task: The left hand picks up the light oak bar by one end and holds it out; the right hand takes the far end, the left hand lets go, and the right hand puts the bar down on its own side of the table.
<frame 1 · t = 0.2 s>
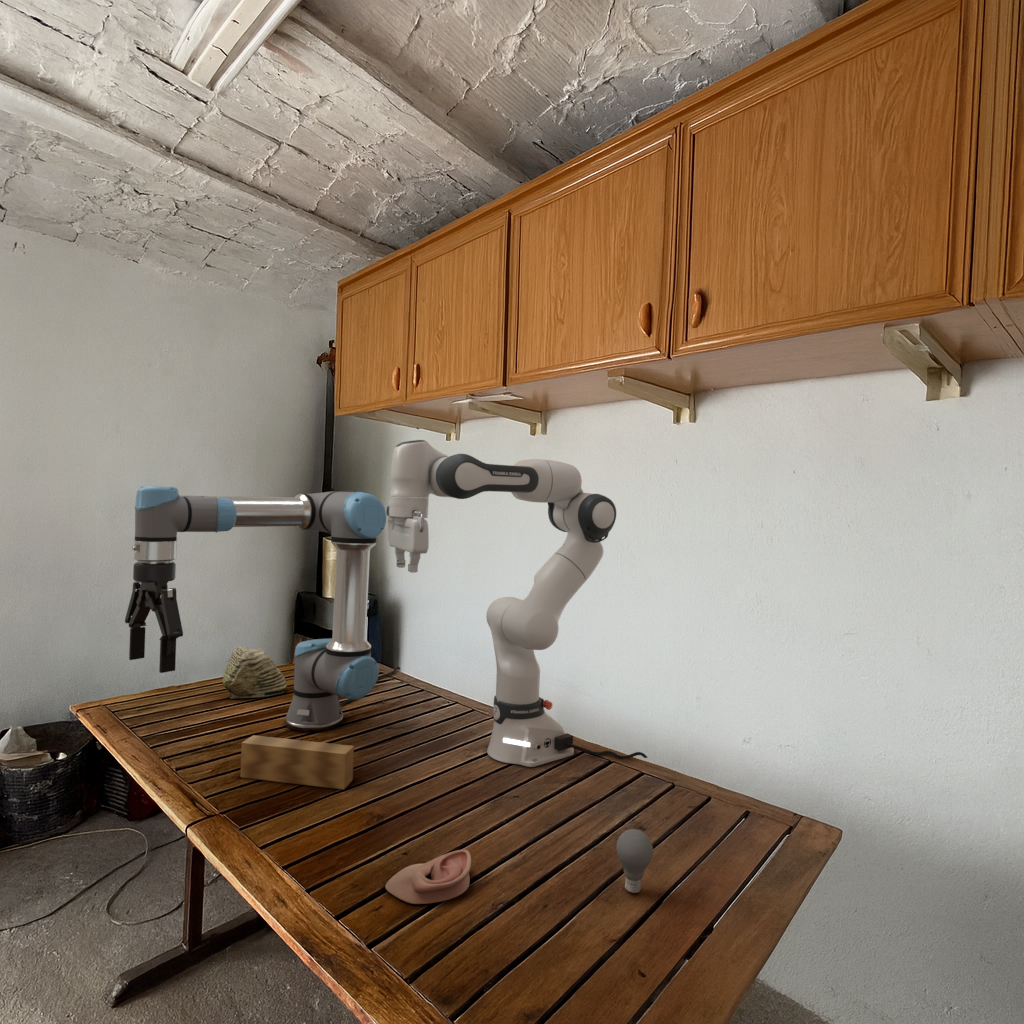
left hand: (151, 665, 130), 27 cm above the table, tool pointing down, fingers open, 13 cm apart
right hand: (406, 569, 146), 47 cm above the table, tool pointing down, fingers open, 8 cm apart
anatomical model: (428, 885, 105), on the table
bar: (296, 778, 142), on the table
light bulb: (632, 891, 106), on the table
fossil: (254, 694, 198), on the table
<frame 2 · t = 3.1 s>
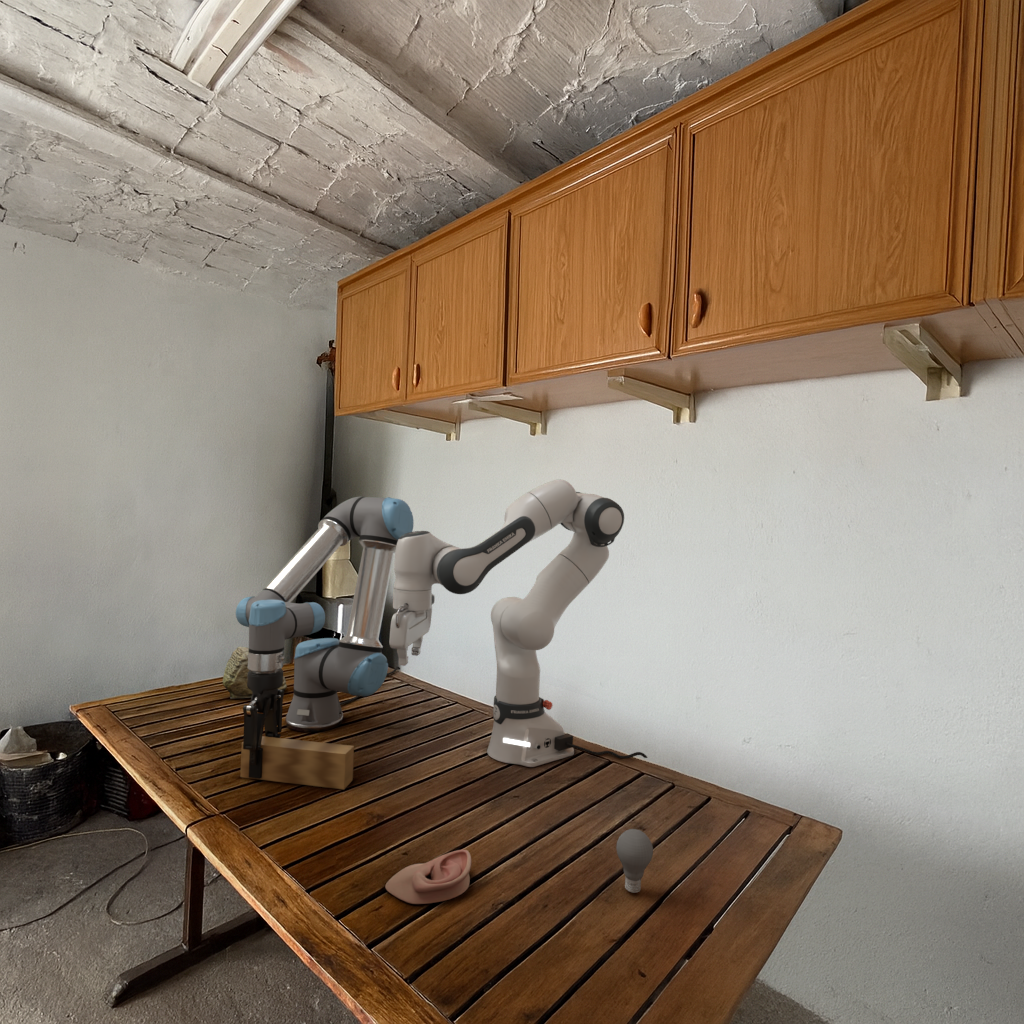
left hand: (261, 772, 143), 1 cm above the table, tool pointing down, fingers closed on bar, 5 cm apart
right hand: (409, 659, 148), 26 cm above the table, tool pointing down, fingers open, 8 cm apart
bar: (296, 778, 142), on the table, touching left hand
everything else where it was.
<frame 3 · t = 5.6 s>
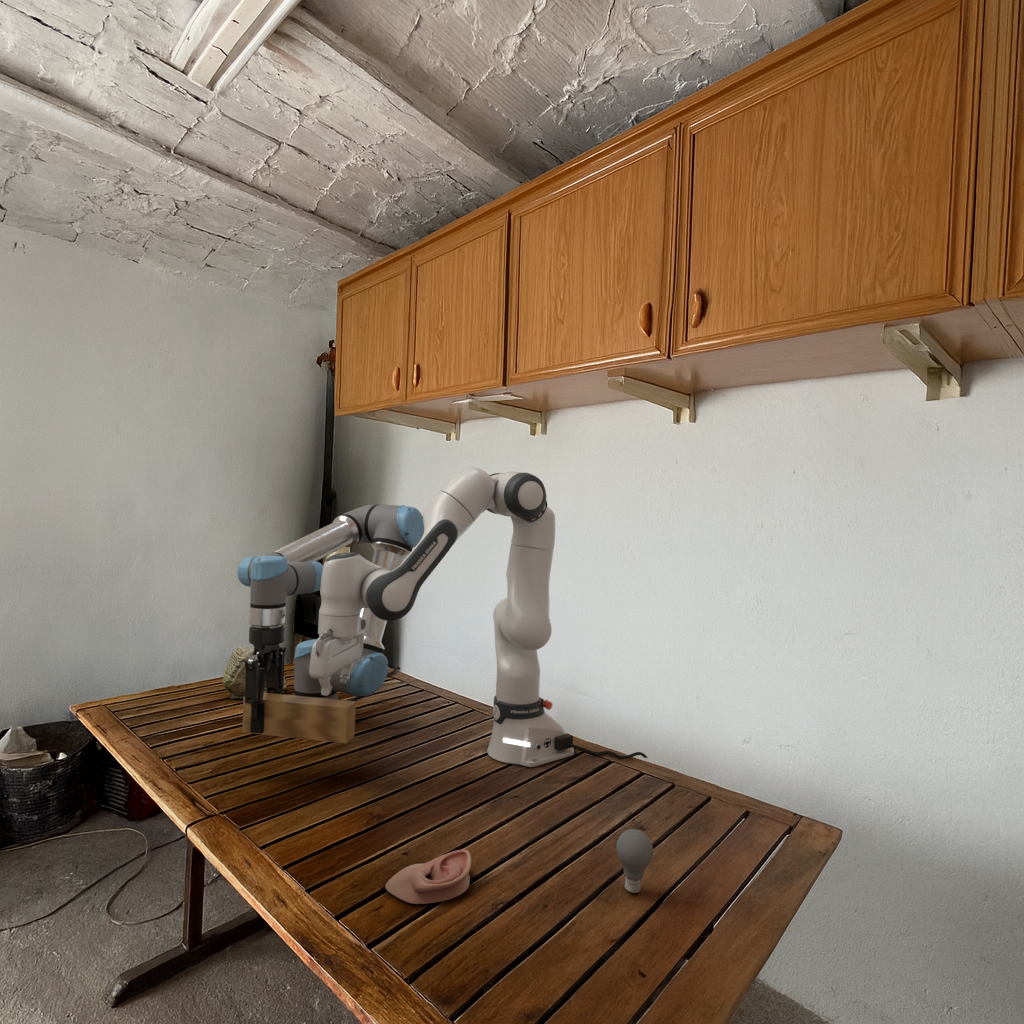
left hand: (263, 727, 143), 11 cm above the table, tool pointing down, fingers closed on bar, 5 cm apart
right hand: (335, 688, 140), 21 cm above the table, tool pointing down, fingers open, 8 cm apart
bar: (298, 734, 142), point 10 cm above the table, touching left hand
everything else where it was.
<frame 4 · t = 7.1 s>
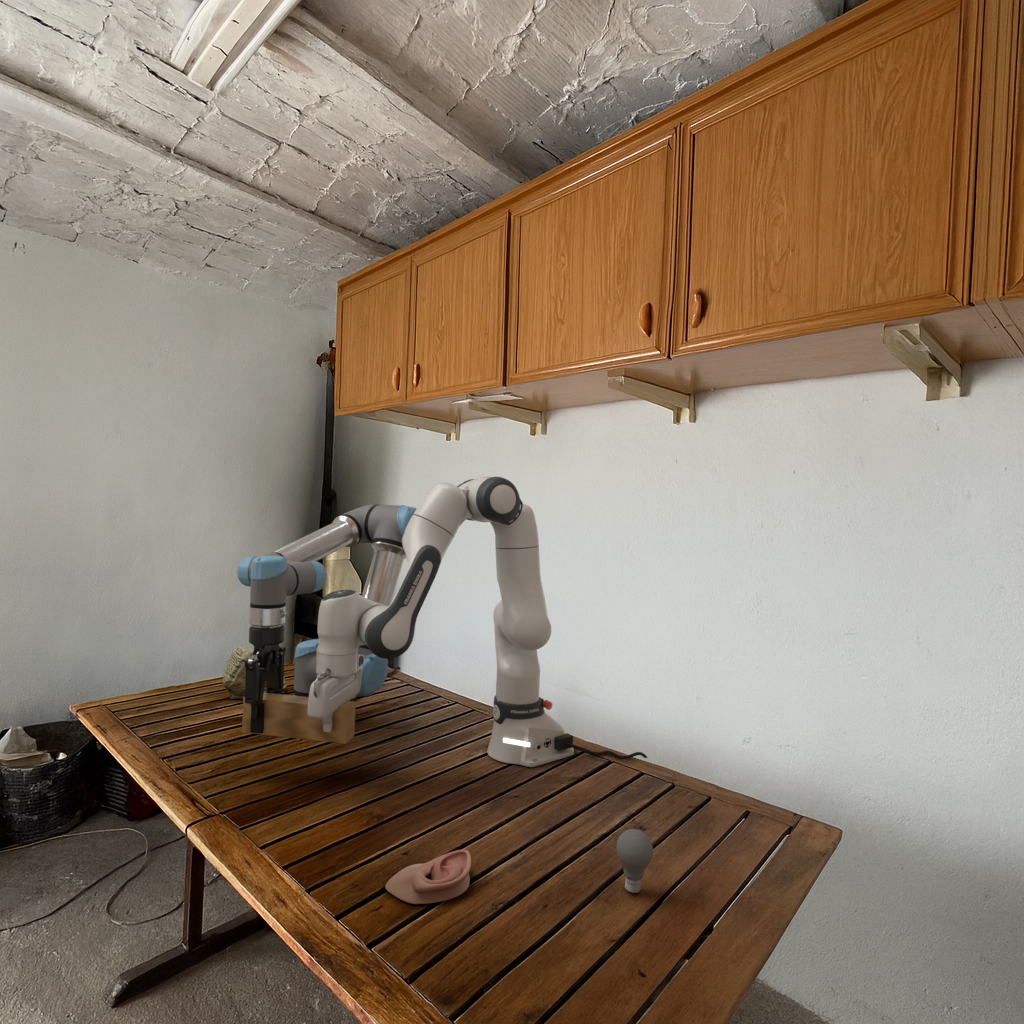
left hand: (263, 727, 143), 11 cm above the table, tool pointing down, fingers closed on bar, 5 cm apart
right hand: (334, 726, 140), 13 cm above the table, tool pointing down, fingers closed on bar, 5 cm apart
bar: (298, 734, 141), point 10 cm above the table, touching left hand, right hand
everything else where it was.
when the left hand's fingers open (11 cm above the table, at t = 7.9 s): bar stays where it is, held by the right hand.
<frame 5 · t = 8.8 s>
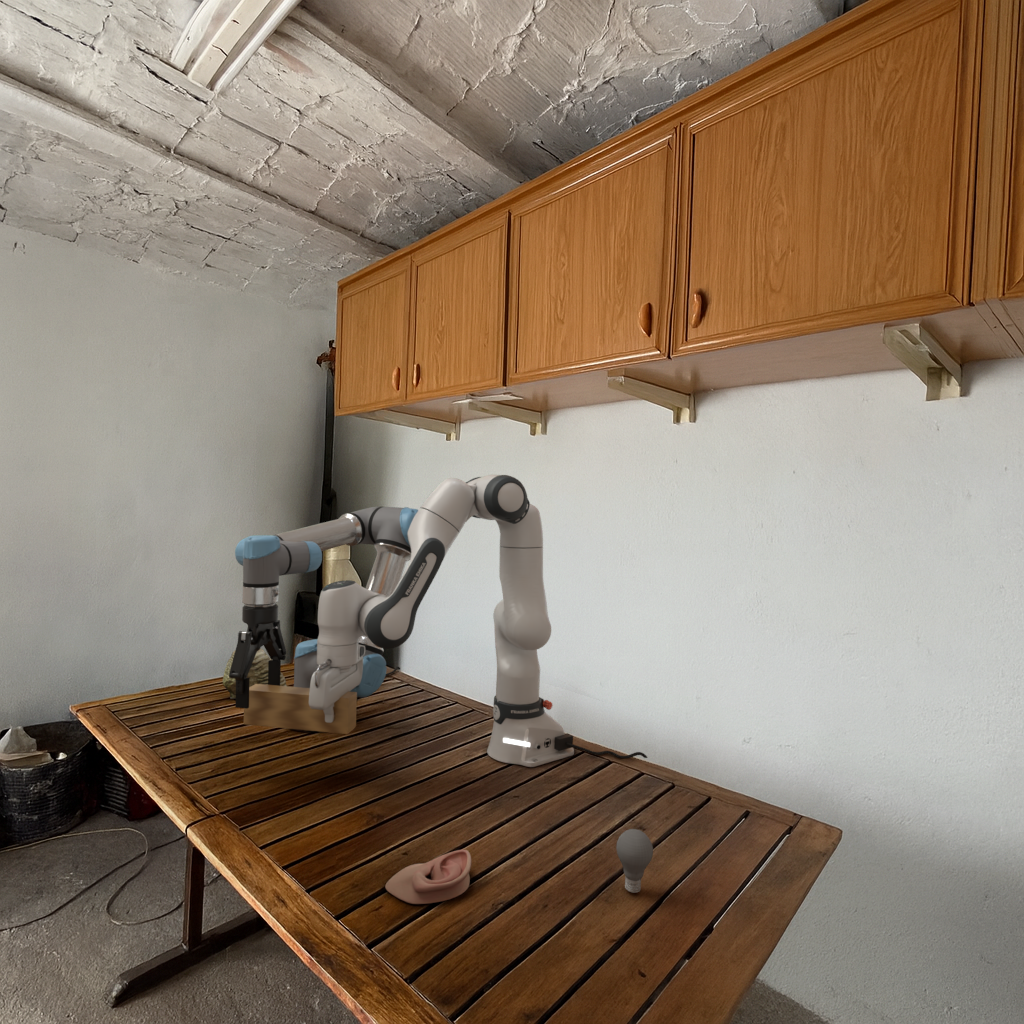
left hand: (258, 697, 143), 17 cm above the table, tool pointing down, fingers open, 13 cm apart
right hand: (336, 716, 140), 15 cm above the table, tool pointing down, fingers closed on bar, 5 cm apart
bar: (299, 725, 141), point 12 cm above the table, touching right hand
everything else where it was.
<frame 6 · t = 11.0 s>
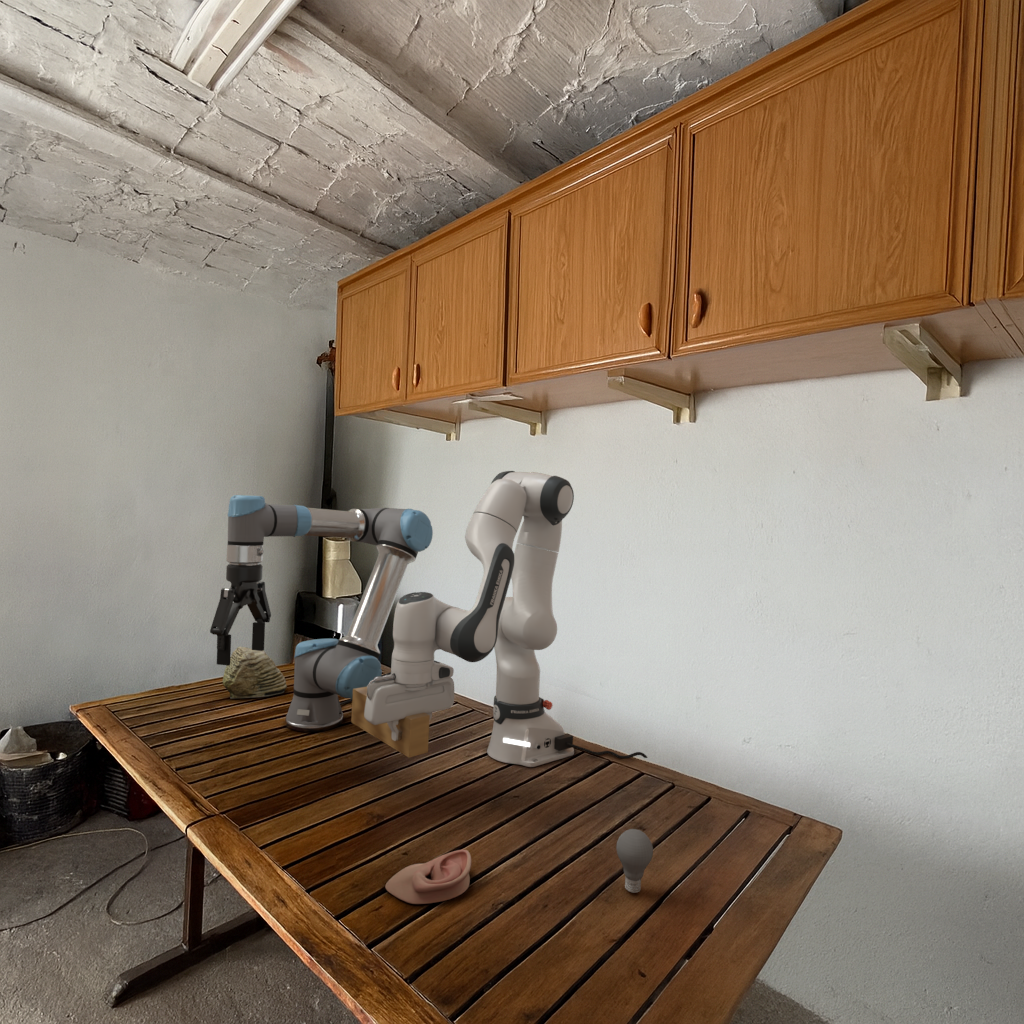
left hand: (241, 657, 143), 26 cm above the table, tool pointing down, fingers open, 13 cm apart
right hand: (409, 736, 133), 14 cm above the table, tool pointing down, fingers closed on bar, 5 cm apart
bar: (387, 736, 139), point 11 cm above the table, touching right hand
everything else where it was.
when the right hand's fingers open (4 cm above the table, at t = 12.7 s): bar drops 1 cm, on the table.
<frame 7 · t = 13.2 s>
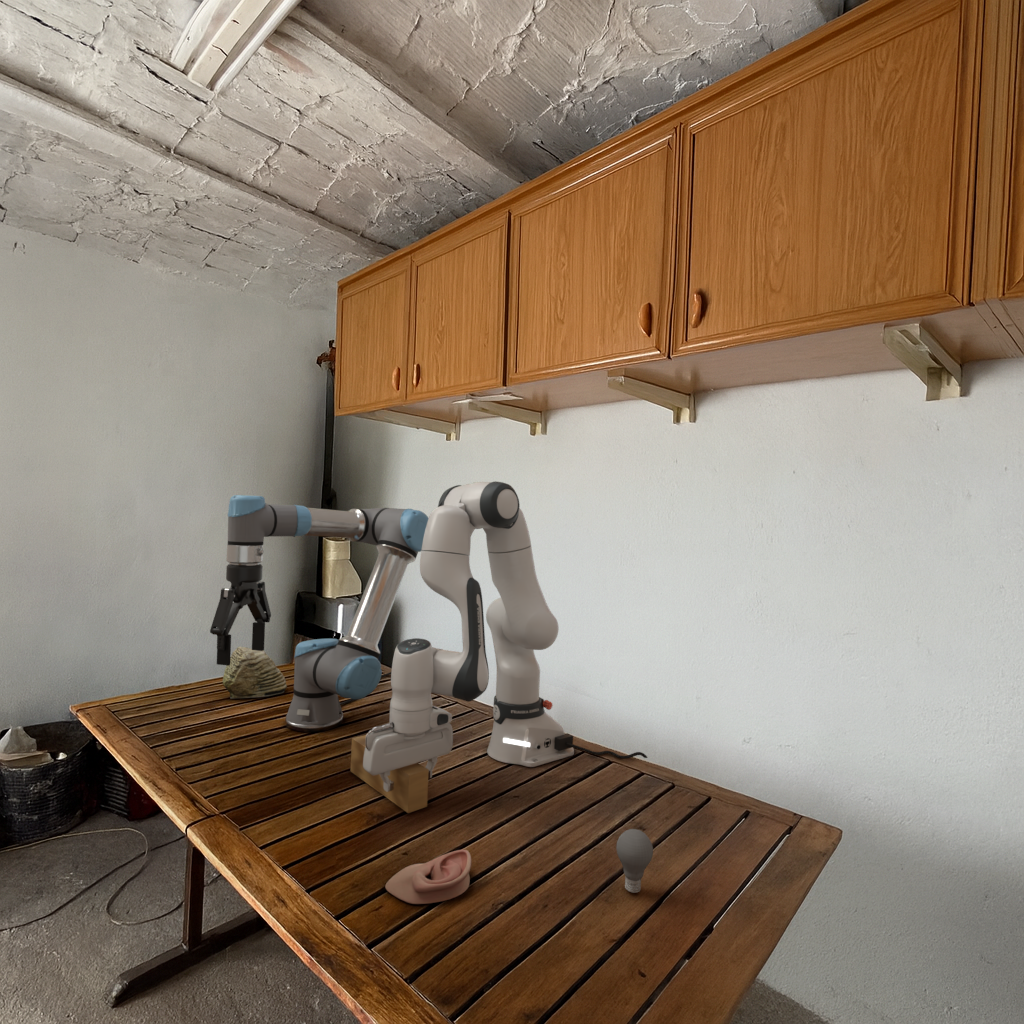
left hand: (241, 657, 143), 26 cm above the table, tool pointing down, fingers open, 13 cm apart
right hand: (408, 783, 133), 4 cm above the table, tool pointing down, fingers open, 8 cm apart
bar: (386, 788, 139), on the table
everything else where it was.
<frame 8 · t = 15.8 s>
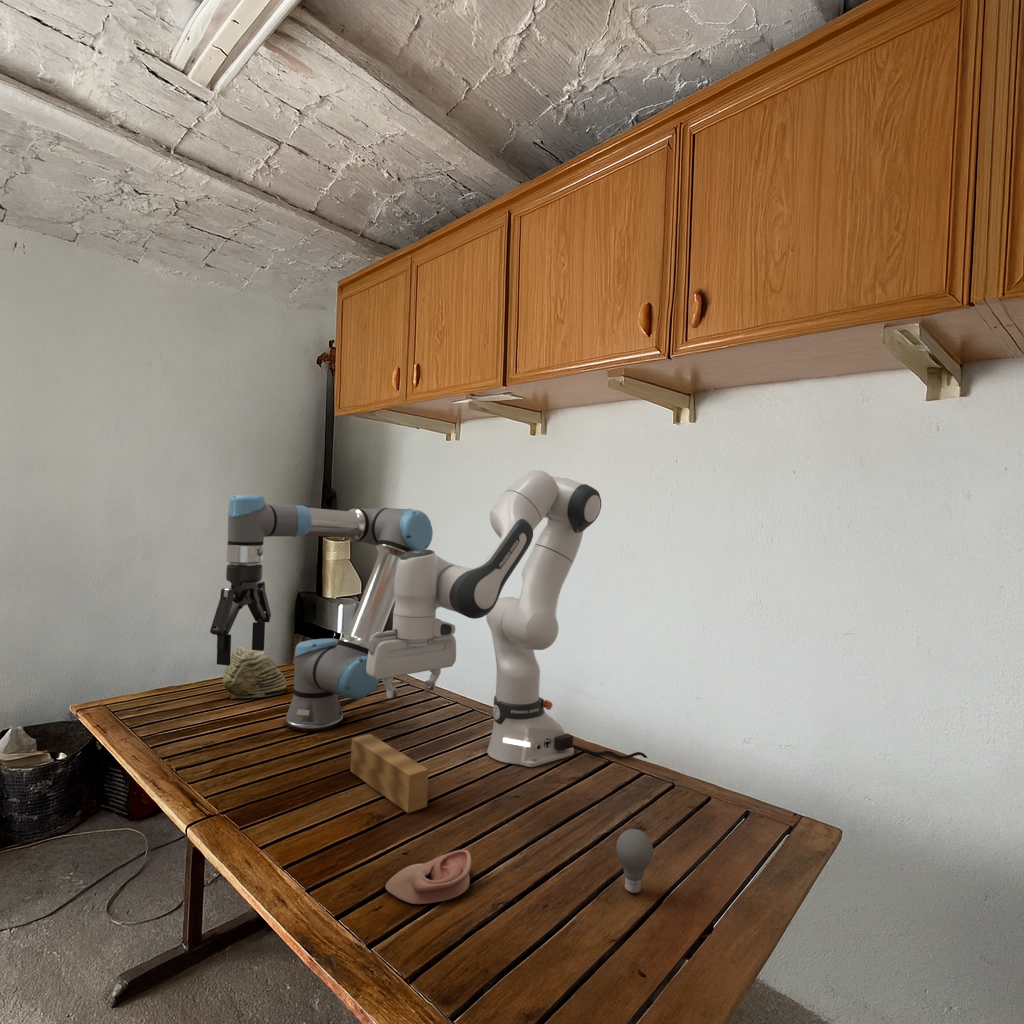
left hand: (241, 657, 143), 26 cm above the table, tool pointing down, fingers open, 13 cm apart
right hand: (411, 693, 132), 23 cm above the table, tool pointing down, fingers open, 8 cm apart
nothing on the table moved.
at the end: bar inside the target area (8.2 cm from its centre), on the table; the left hand is holding nothing; the right hand is holding nothing; bar at rest at the end (0.0 cm/s) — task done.
